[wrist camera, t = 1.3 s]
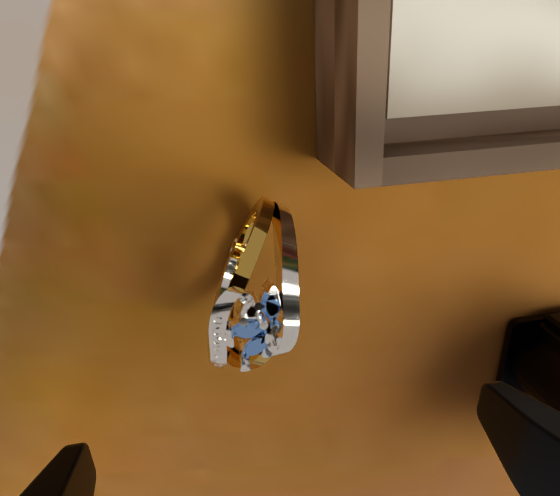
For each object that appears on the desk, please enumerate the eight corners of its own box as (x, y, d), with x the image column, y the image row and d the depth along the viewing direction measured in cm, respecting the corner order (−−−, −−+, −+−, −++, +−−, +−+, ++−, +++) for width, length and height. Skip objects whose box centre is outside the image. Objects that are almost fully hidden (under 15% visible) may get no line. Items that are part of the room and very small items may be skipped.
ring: (238, 169, 19) (256, 230, 12) (298, 195, 20) (351, 267, 13) (184, 293, 21) (170, 410, 14) (241, 311, 22) (257, 430, 15)
